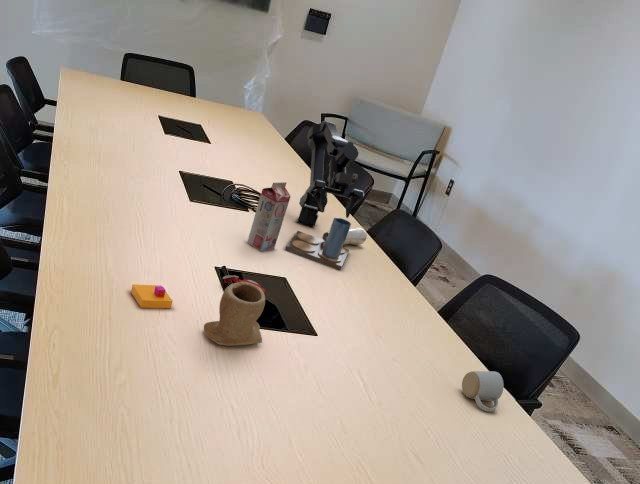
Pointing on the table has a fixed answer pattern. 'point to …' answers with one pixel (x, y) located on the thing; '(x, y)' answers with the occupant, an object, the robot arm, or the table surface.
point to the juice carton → (269, 217)
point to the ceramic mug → (483, 387)
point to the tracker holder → (240, 281)
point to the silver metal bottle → (352, 236)
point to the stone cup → (238, 316)
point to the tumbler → (336, 238)
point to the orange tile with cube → (151, 296)
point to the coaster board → (314, 250)
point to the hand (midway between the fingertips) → (335, 214)
